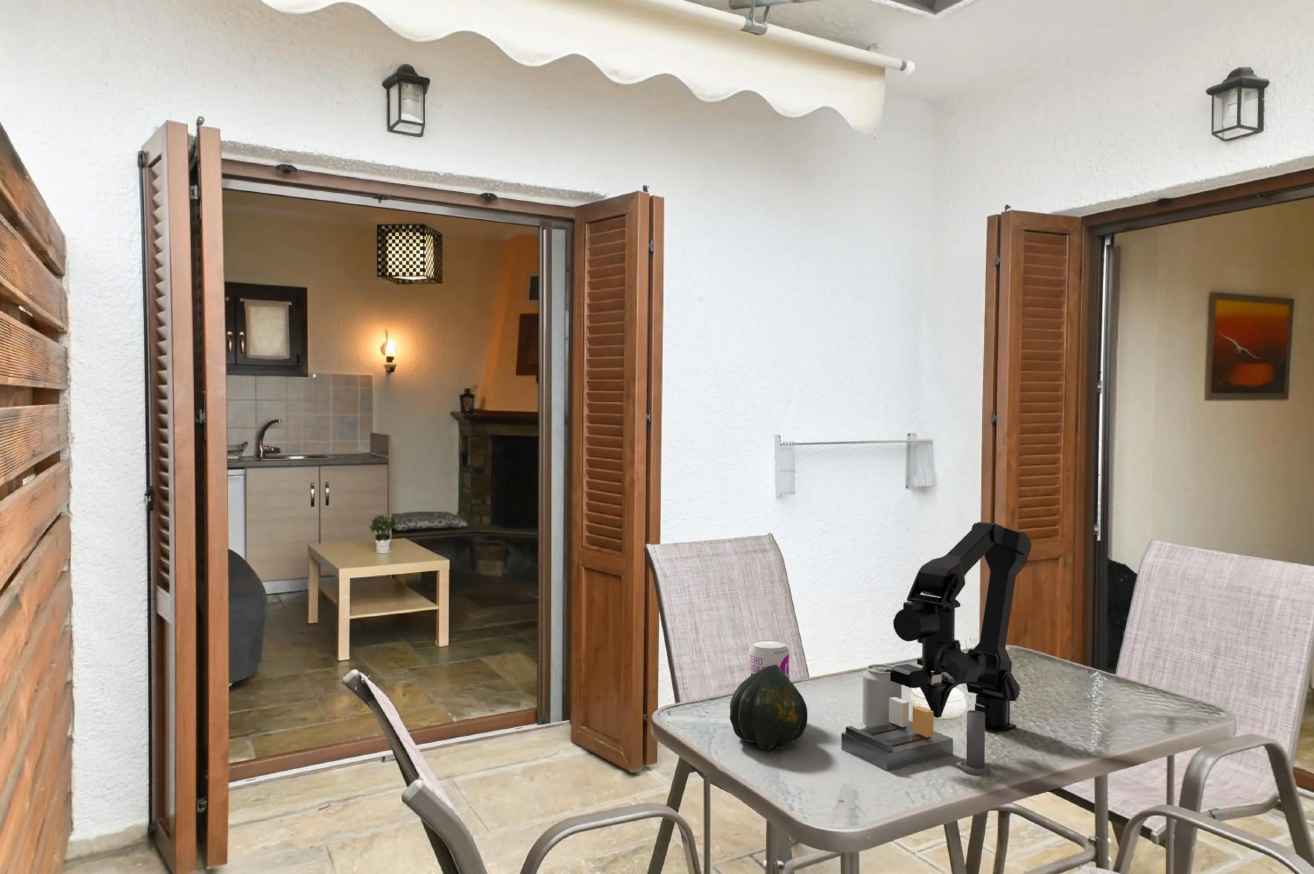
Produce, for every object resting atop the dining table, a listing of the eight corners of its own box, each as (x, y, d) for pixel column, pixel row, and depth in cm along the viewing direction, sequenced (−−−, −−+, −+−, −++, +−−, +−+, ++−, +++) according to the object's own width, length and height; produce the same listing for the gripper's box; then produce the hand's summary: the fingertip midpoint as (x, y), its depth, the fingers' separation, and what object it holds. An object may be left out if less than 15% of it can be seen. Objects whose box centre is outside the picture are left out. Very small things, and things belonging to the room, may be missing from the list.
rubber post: (974, 762, 162) (974, 706, 162) (996, 771, 158) (997, 714, 158) (954, 767, 160) (954, 711, 160) (976, 777, 156) (977, 719, 155)
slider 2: (918, 729, 169) (919, 705, 169) (933, 735, 166) (933, 711, 166) (912, 731, 168) (912, 707, 168) (926, 737, 165) (927, 712, 165)
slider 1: (895, 720, 175) (895, 696, 174) (908, 725, 171) (908, 701, 171) (888, 721, 174) (889, 697, 174) (902, 727, 171) (902, 703, 171)
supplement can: (793, 713, 189) (794, 641, 189) (781, 725, 182) (782, 650, 182) (756, 708, 193) (756, 637, 192) (743, 719, 185) (743, 646, 185)
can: (902, 734, 177) (903, 673, 176) (862, 732, 178) (863, 671, 178) (900, 722, 184) (900, 663, 184) (862, 719, 185) (862, 661, 185)
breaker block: (905, 734, 177) (905, 713, 177) (952, 754, 166) (953, 731, 166) (841, 748, 169) (841, 726, 169) (886, 770, 158) (886, 746, 158)
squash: (729, 730, 163) (781, 664, 165) (705, 708, 177) (754, 647, 180) (786, 778, 165) (836, 712, 168) (757, 752, 180) (804, 692, 182)
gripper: (934, 648, 157) (933, 738, 157) (1008, 637, 166) (1007, 722, 166) (888, 635, 167) (887, 719, 167) (961, 625, 176) (960, 705, 176)
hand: (937, 717), depth 169 cm, fingers closed
